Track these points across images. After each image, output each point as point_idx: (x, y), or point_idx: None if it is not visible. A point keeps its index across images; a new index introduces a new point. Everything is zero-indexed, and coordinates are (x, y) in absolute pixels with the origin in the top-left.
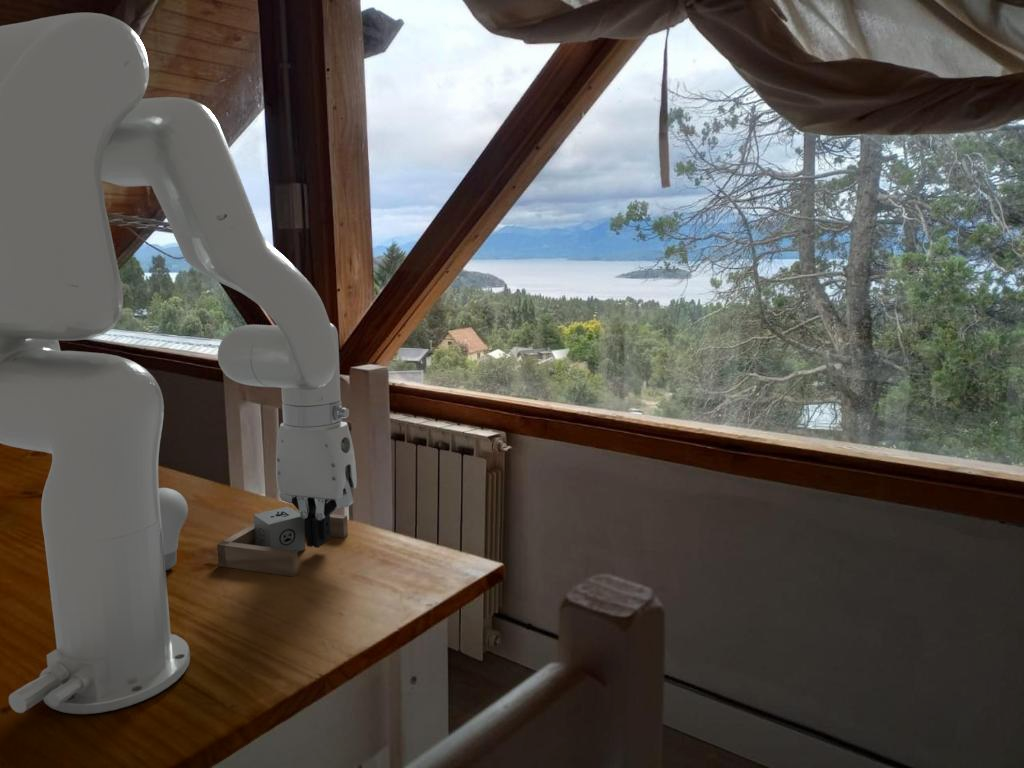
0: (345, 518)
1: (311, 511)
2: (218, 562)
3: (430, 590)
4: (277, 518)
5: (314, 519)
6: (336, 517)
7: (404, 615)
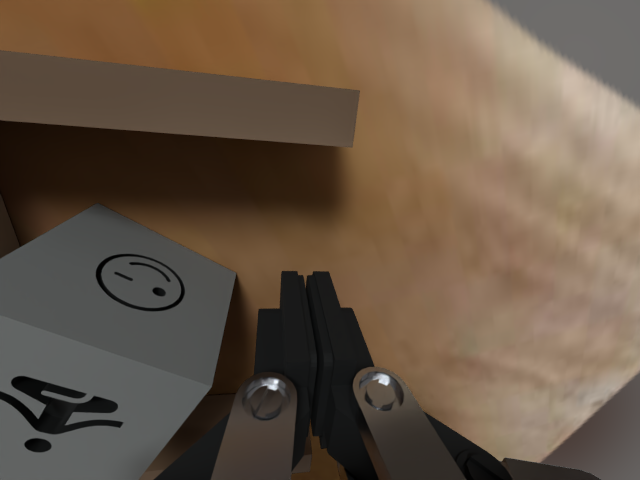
0: (353, 114)
1: (294, 458)
2: None
3: (608, 366)
4: (94, 451)
5: (324, 439)
6: (304, 138)
7: (554, 436)
